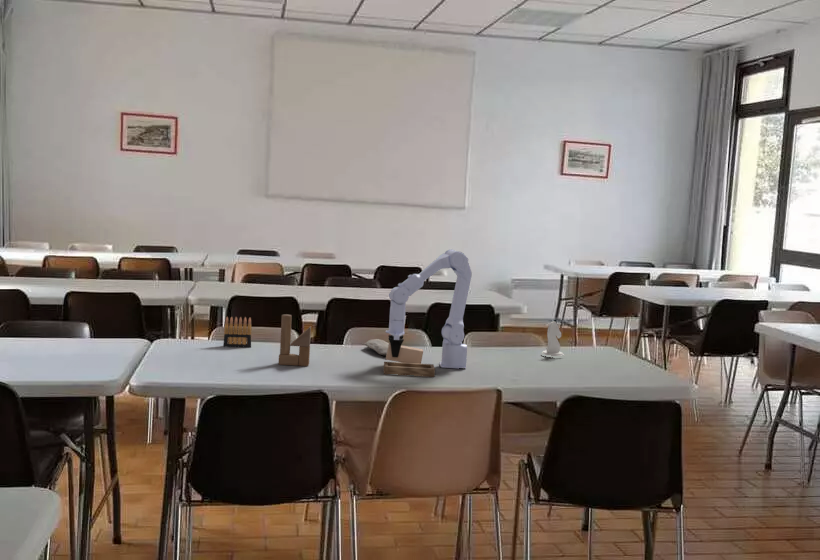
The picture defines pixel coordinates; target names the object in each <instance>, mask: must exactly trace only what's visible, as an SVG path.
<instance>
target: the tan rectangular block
mask: <svg viewBox="0 0 820 560" xmlns="http://www.w3.org/2000/svg"><path fill="white" fill-rule="evenodd" d="M388 343H389V344H388V349H387V354H386V356H385V360H387V361H390V362H400V363H418V364H422V360H423V355H424V349H422V348H417V347H411V346H407V345H401V347H400V351H399V355H398V357H392V352H391V344H390V342H388Z"/></svg>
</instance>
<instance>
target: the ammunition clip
mask: <svg viewBox="0 0 820 560" xmlns="http://www.w3.org/2000/svg"><path fill="white" fill-rule="evenodd" d="M233 319H234V320H233ZM238 320H239V321H238ZM223 330H224V333H223V345H222V346H223V348H245V349H246V348H250V349H251V348H252V317H249V318H248V322H247V317H246V316H244V318H243V319H242V316H240V317H239V319H238V317H237V316H235V317H234V318H233V316H231V317H230V320H229V317H228V316H226V318H225V322H224V329H223Z"/></svg>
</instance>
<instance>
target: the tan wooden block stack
mask: <svg viewBox="0 0 820 560" xmlns="http://www.w3.org/2000/svg"><path fill="white" fill-rule="evenodd" d="M292 319H293V318H292V314H287V313H286V314H281V321H280V322H281V323H280V325H281V326H280V345H279V346H280V347H279V354H278V362H277V363H278V365H280V366H281V365H282V366H295V367H296V366H297V367H298V366H299V367H309V365H310V357H311V356H310V354H311V353H310V352H311V334H312V333H311V332H312V330H311V329H312V326H311V325H310V326H309V327H308V328H307V329H305V330H304V331H303V332H302V333H300V335H299V336H297V338H296V339H294V340H293V341H292V342H291V339H292V337H291V336H292ZM291 347H299V349H298V354H296V353H291Z"/></svg>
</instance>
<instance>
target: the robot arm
mask: <svg viewBox="0 0 820 560" xmlns="http://www.w3.org/2000/svg"><path fill="white" fill-rule="evenodd" d="M444 269H452V271H453V272H454V273H455V275H456V280H455V281H456V282H455V286H454V289H453V290H454V291H453V297H452V301H451V304H450V305H451V306H450V309H449V315H448V317H447V319H446V320H445V324H444V325H443V326H442V328H441V336H442V338H443V341H442V345H441V346H442V347H441V349H442V350H441V360H440V362H439V366H440V368H445V369H459V368H466V369H467V363H468V362H467V360H468V359H467V356H468V345H467V344H465V343H463V341H464V338H465V332H464V331H465V330H464V328H465V325H464V315H465V309H466V305H467V300H468V295H469V291H470V290H469V289H470V286H471V282H472V281H471V280H472V273H473V272H472V269H471V266H470V263H469V258H468V257H467V255H465V253H463V252H462V251H458V250H455V249H453V248H452V249H448V250H446V251H444V252H443V253H442V254H440V255H439V256H438V257H437V258H436V259H434V260H433V261H432V262H430V264H428V265H427V266H426V267H425V268H424V269H423V270H422V271H421V272H420V273H412V274H409V275H407V279H405V280H404V281H403V282H399V283H398V284H397V286H395V287H393V288H392V289H391V290H390V291H389V293H388V297H389V299H390V307H389V323H388V330H387V329H386V330H385V333H386V334H389V335H388V341H389V342H388V343H390V344H391V352H392V357H398V355H399V351H400V347H401V346H403V343H404V341H405V339H404V335H405V323H406V310H407V309H406V305H407V304H406V303H407V302H408V300H409V297H410V296H413V295H414V294H415V293H416V292H417V291H418V290H420V289H421V288H422V287H423V286H424V284H425V281H427V280H428V279H429V278H430V277H433V276H434V275H435V274H436V273H437V272H439V271H440V270H444Z"/></svg>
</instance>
